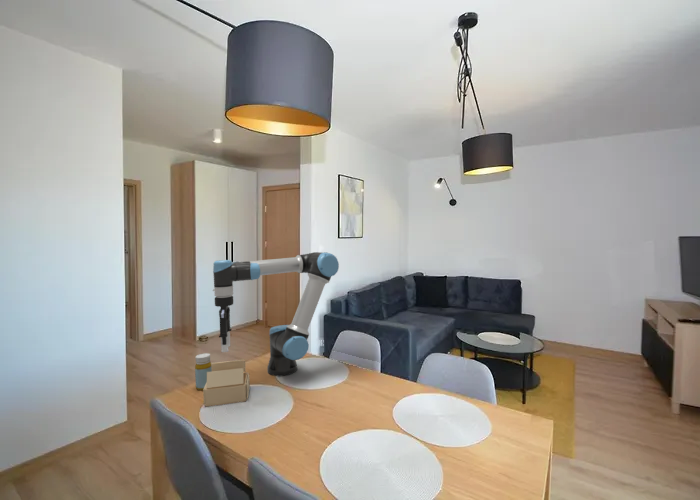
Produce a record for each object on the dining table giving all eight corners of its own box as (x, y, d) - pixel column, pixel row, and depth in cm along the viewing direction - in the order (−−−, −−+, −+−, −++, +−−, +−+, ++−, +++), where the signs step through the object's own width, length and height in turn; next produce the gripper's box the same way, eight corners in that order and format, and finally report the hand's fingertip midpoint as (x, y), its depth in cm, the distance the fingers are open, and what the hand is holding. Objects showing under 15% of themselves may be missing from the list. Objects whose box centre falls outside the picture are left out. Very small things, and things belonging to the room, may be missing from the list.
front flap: (207, 372, 140) (206, 372, 140) (243, 368, 143) (243, 368, 143) (206, 387, 139) (206, 388, 138) (243, 383, 142) (243, 383, 141)
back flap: (244, 360, 153) (245, 359, 153) (211, 363, 149) (211, 363, 150) (245, 371, 154) (245, 371, 155) (212, 375, 151) (212, 374, 152)
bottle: (208, 390, 153) (207, 358, 153) (193, 390, 153) (191, 358, 153) (214, 384, 160) (213, 352, 160) (200, 384, 160) (198, 353, 160)
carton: (249, 387, 156) (249, 372, 155) (247, 401, 142) (247, 384, 142) (209, 392, 152) (208, 376, 151) (203, 407, 138) (202, 390, 138)
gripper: (218, 293, 154) (220, 343, 155) (210, 300, 135) (213, 357, 136) (235, 292, 155) (237, 341, 156) (230, 299, 137) (232, 355, 137)
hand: (226, 348), depth 146 cm, fingers open, 6 cm apart
